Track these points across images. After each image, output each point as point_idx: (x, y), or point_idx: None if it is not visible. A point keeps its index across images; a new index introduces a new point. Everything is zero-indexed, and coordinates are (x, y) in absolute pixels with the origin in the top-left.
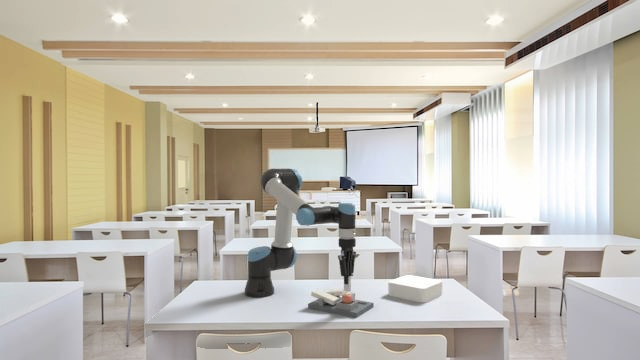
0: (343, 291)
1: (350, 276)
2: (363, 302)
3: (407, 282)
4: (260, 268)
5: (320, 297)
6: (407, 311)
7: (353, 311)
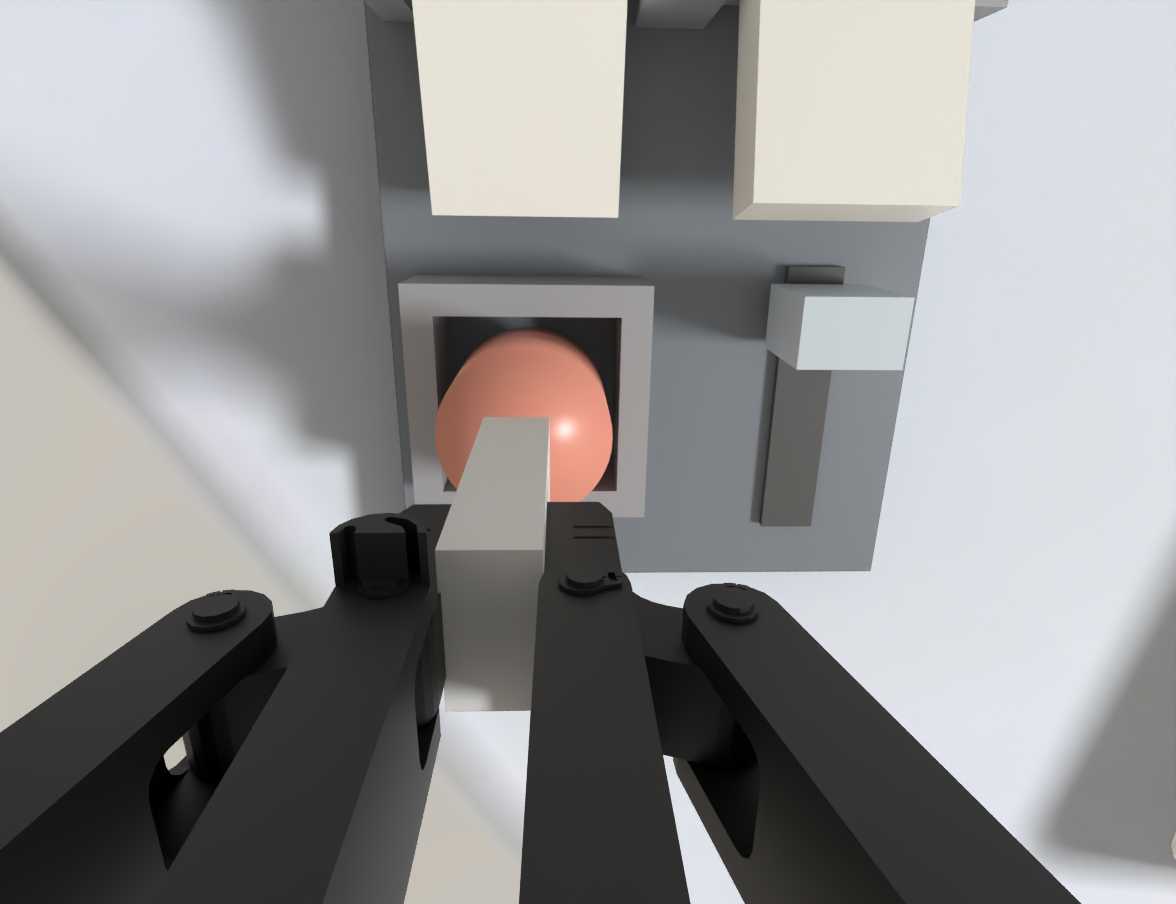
0: (807, 207)
1: (524, 709)
2: (806, 483)
3: None
4: None
5: None
6: None
7: None
